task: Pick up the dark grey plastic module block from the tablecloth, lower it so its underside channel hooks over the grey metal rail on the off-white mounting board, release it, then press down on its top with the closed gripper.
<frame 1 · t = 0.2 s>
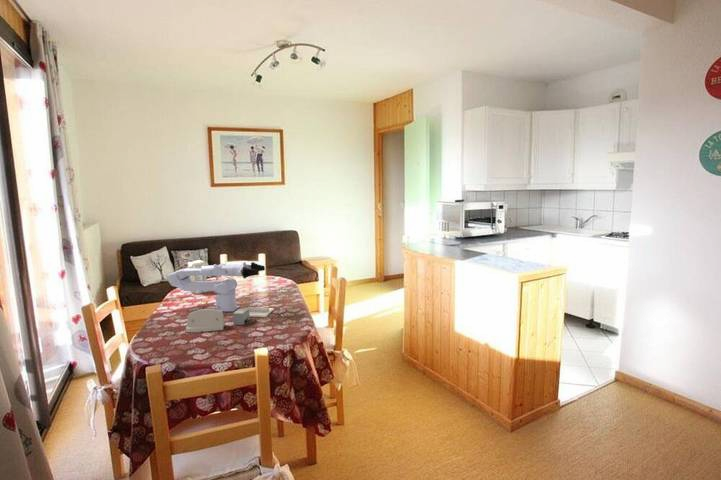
hand: (261, 270, 205), 21 cm above the table, tool horizontal, fingers open, 7 cm apart
light grey flat block: (206, 328, 187), on the table
module: (241, 322, 193), on the table
rail board: (257, 312, 206), on the table
juice carton: (199, 292, 245), on the table
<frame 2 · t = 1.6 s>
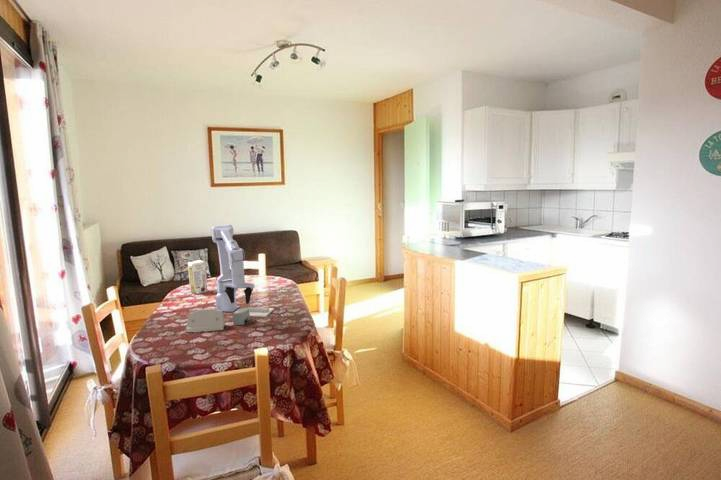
hand: (240, 302, 192), 9 cm above the table, tool pointing down, fingers open, 7 cm apart
nothing on the table moved.
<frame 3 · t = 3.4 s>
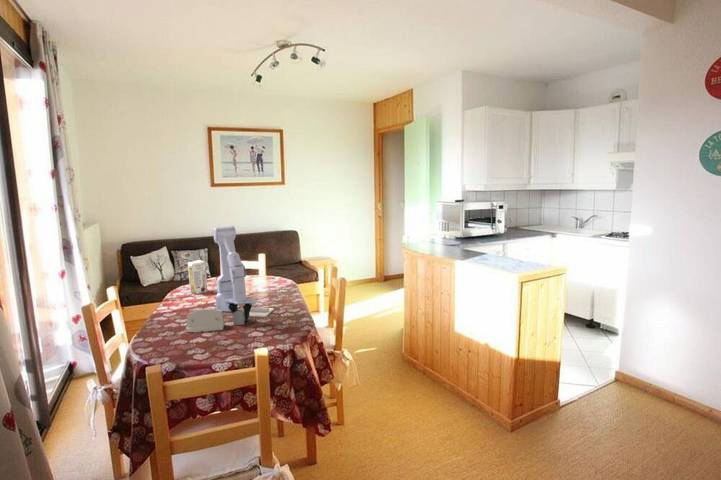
hand: (241, 318, 193), 2 cm above the table, tool pointing down, fingers closed on module, 5 cm apart
module: (241, 322, 193), on the table, touching gripper
everything else where it was.
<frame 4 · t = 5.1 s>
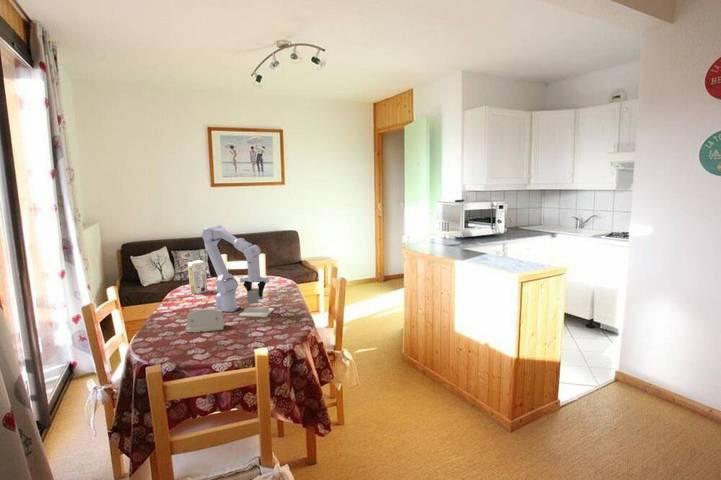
hand: (255, 296, 204), 9 cm above the table, tool pointing down, fingers closed on module, 5 cm apart
module: (255, 300, 204), point 6 cm above the table, touching gripper
everything else where it was.
when the fingers open (3 cm above the table, at t = 6.9 s): module stays where it is, resting on rail board.
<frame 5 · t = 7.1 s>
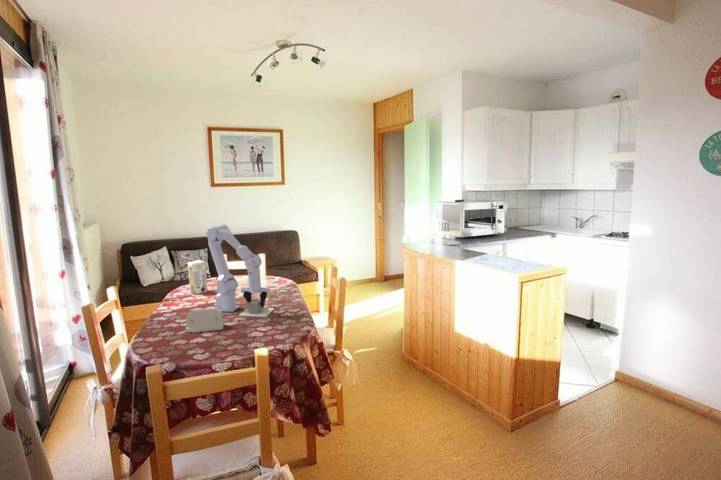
hand: (256, 306, 205), 3 cm above the table, tool pointing down, fingers open, 6 cm apart
module: (256, 311, 205), point 1 cm above the table, touching rail board
everything else where it was.
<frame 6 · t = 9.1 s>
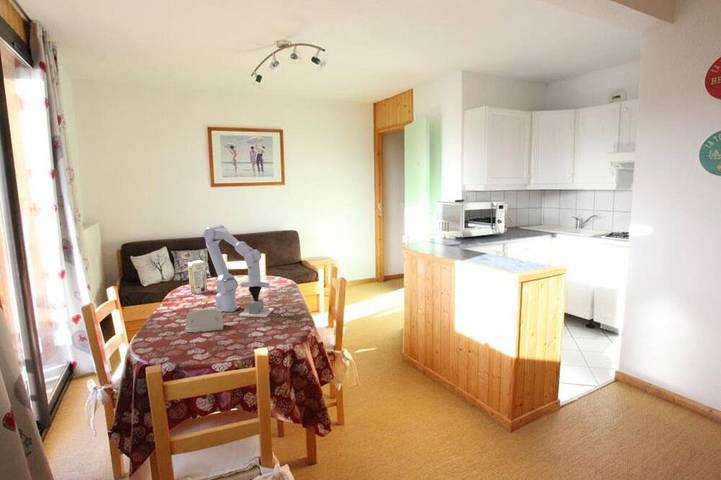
hand: (256, 300, 205), 6 cm above the table, tool pointing down, fingers closed, pressing on module
module: (256, 311, 205), point 1 cm above the table, touching gripper, rail board
everything else where it was.
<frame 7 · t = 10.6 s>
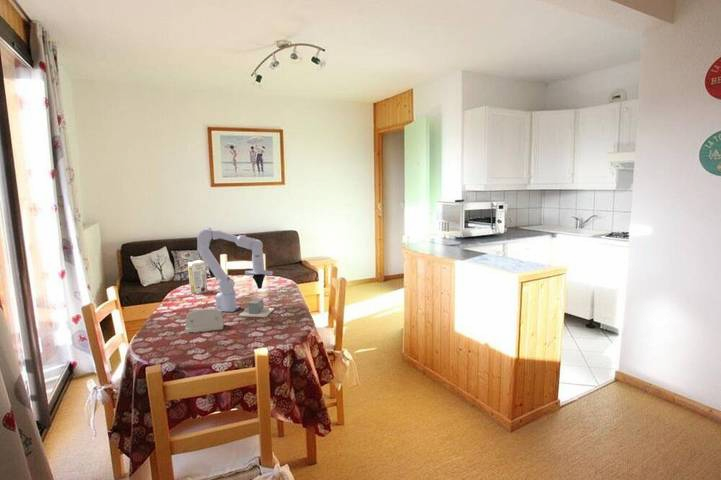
hand: (259, 288, 214), 10 cm above the table, tool pointing down, fingers closed
module: (256, 311, 205), point 1 cm above the table, touching rail board
everything else where it was.
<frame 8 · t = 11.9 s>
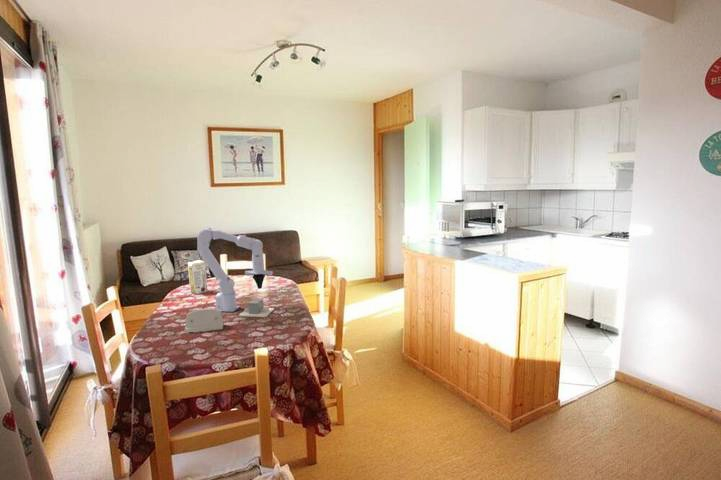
hand: (259, 288, 214), 10 cm above the table, tool pointing down, fingers closed
nothing on the table moved.
at the end: module 0.5 cm off-centre on the rail board, point 0.8 cm above the rail board's base; module tilted 0°; the gripper is holding nothing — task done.
